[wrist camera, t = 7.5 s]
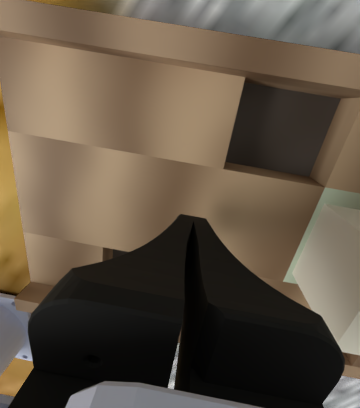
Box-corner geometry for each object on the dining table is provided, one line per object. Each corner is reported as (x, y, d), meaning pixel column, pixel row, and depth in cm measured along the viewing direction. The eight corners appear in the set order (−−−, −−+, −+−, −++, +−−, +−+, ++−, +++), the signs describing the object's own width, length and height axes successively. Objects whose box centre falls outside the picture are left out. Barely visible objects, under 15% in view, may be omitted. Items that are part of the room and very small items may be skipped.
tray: (50, 273, 18) (16, 309, 14) (24, 22, 11) (-49, -12, 8) (330, 327, 17) (360, 379, 14) (476, 96, 10) (595, 92, 7)
